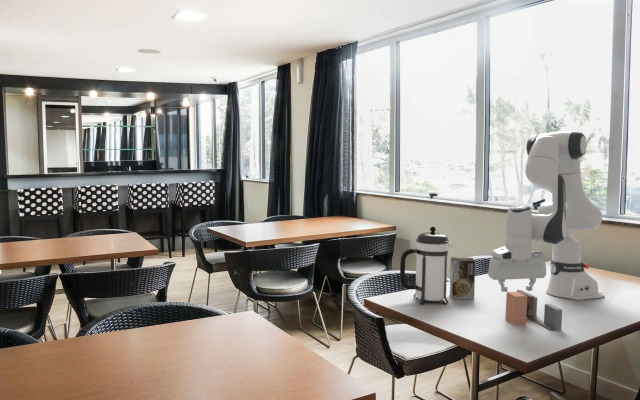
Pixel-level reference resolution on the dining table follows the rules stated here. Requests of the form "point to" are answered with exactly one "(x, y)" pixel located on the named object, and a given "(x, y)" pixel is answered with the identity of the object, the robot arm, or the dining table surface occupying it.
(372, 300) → the dining table surface
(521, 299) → the doorstop block
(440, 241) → the coffee press
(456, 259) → the cookie box
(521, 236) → the robot arm
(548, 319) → the door wall
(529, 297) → the sliding door
